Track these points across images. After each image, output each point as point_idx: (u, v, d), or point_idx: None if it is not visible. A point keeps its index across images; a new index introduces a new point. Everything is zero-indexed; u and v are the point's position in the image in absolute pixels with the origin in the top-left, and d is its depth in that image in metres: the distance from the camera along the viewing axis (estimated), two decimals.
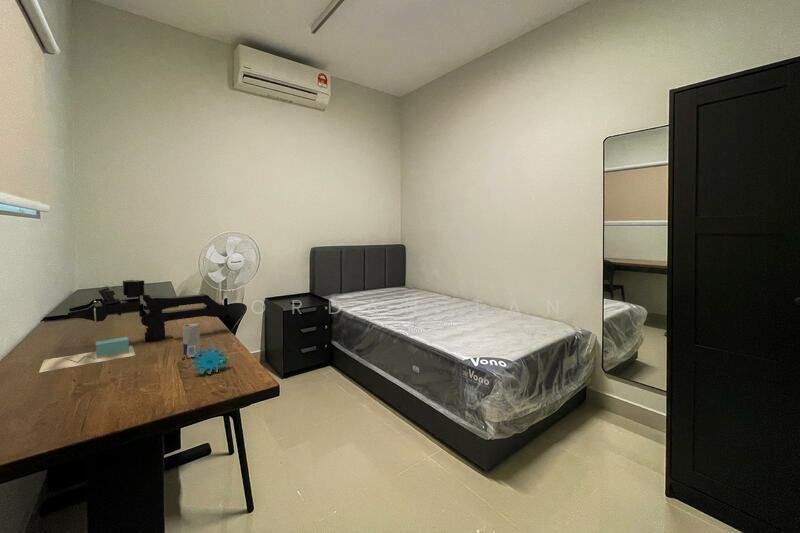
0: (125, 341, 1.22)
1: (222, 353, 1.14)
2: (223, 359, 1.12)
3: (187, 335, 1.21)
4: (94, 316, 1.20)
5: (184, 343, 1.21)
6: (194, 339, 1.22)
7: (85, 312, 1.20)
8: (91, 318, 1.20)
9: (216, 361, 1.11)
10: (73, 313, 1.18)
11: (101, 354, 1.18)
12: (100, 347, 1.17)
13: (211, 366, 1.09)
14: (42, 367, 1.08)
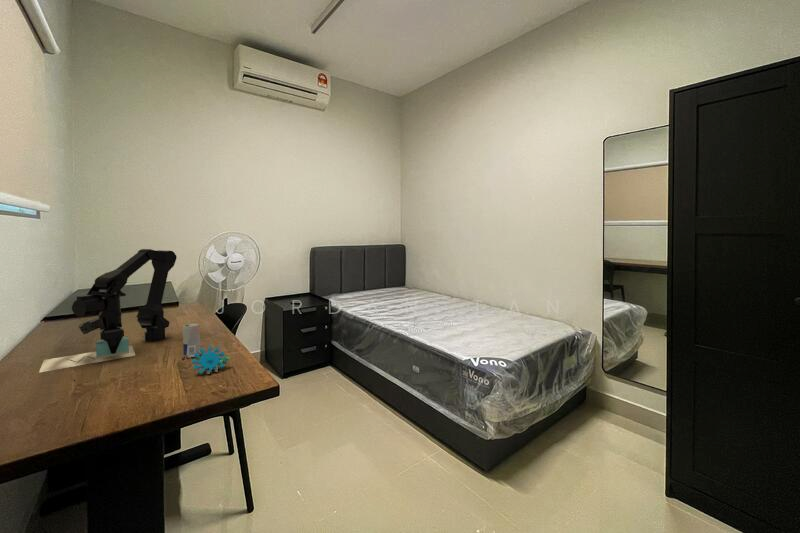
0: (125, 341, 1.22)
1: (222, 353, 1.14)
2: (223, 359, 1.13)
3: (187, 335, 1.21)
4: None
5: (184, 343, 1.21)
6: (194, 339, 1.22)
7: (112, 341, 1.18)
8: (120, 337, 1.19)
9: (216, 361, 1.11)
10: (112, 350, 1.19)
11: (101, 354, 1.18)
12: (100, 347, 1.17)
13: (211, 366, 1.09)
14: (42, 367, 1.08)
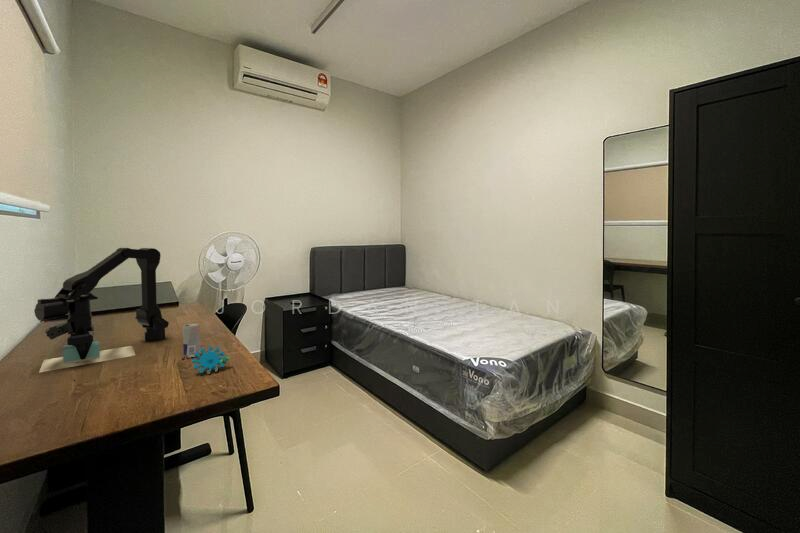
0: (95, 346, 1.17)
1: (223, 353, 1.14)
2: (223, 359, 1.13)
3: (187, 335, 1.21)
4: None
5: (184, 343, 1.21)
6: (194, 339, 1.22)
7: (81, 347, 1.13)
8: (89, 342, 1.14)
9: (216, 361, 1.11)
10: (81, 355, 1.14)
11: (69, 359, 1.12)
12: (67, 352, 1.12)
13: (211, 365, 1.10)
14: (42, 367, 1.08)
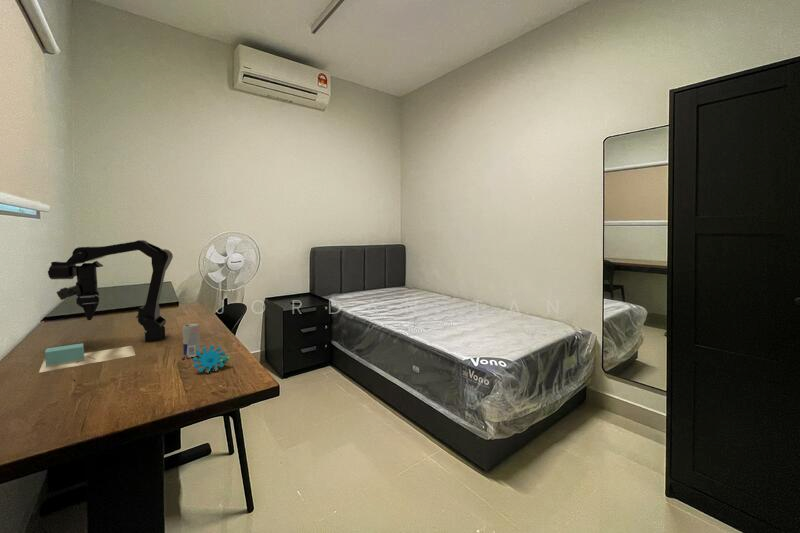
0: (79, 348, 1.14)
1: (223, 352, 1.14)
2: (223, 358, 1.13)
3: (187, 335, 1.21)
4: (92, 303, 1.25)
5: (184, 343, 1.21)
6: (194, 339, 1.22)
7: (88, 308, 1.26)
8: (95, 304, 1.27)
9: (216, 360, 1.12)
10: (88, 316, 1.27)
11: (51, 362, 1.09)
12: (49, 355, 1.09)
13: (210, 365, 1.10)
14: (42, 367, 1.08)
